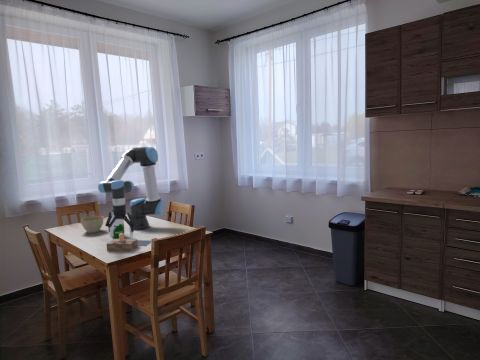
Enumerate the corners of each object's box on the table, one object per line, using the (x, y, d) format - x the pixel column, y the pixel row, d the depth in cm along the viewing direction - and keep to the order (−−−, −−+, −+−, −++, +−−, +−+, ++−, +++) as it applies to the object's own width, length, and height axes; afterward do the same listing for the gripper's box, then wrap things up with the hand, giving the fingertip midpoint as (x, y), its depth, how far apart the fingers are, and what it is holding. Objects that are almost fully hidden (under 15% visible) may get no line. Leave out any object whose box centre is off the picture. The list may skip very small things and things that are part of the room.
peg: (121, 248, 218) (120, 233, 217) (125, 248, 217) (124, 233, 216) (119, 249, 215) (118, 234, 214) (123, 249, 214) (122, 234, 213)
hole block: (115, 246, 222) (114, 238, 222) (137, 246, 220) (137, 239, 219) (107, 251, 213) (106, 243, 212) (130, 251, 210) (129, 244, 209)
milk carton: (122, 234, 250) (120, 208, 247) (126, 237, 242) (124, 210, 240) (110, 236, 244) (108, 210, 242) (113, 239, 237) (111, 212, 235)
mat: (137, 240, 232) (137, 240, 232) (153, 241, 231) (153, 240, 231) (129, 246, 221) (129, 245, 221) (146, 246, 219) (146, 246, 219)
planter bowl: (96, 234, 251) (95, 220, 250) (77, 234, 254) (76, 220, 253) (108, 229, 267) (107, 215, 265) (90, 228, 270) (89, 215, 269)
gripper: (97, 205, 211) (100, 238, 213) (134, 205, 207) (137, 238, 209) (104, 203, 218) (107, 234, 221) (140, 203, 214) (142, 235, 217)
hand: (121, 236), depth 215 cm, fingers open, 13 cm apart
